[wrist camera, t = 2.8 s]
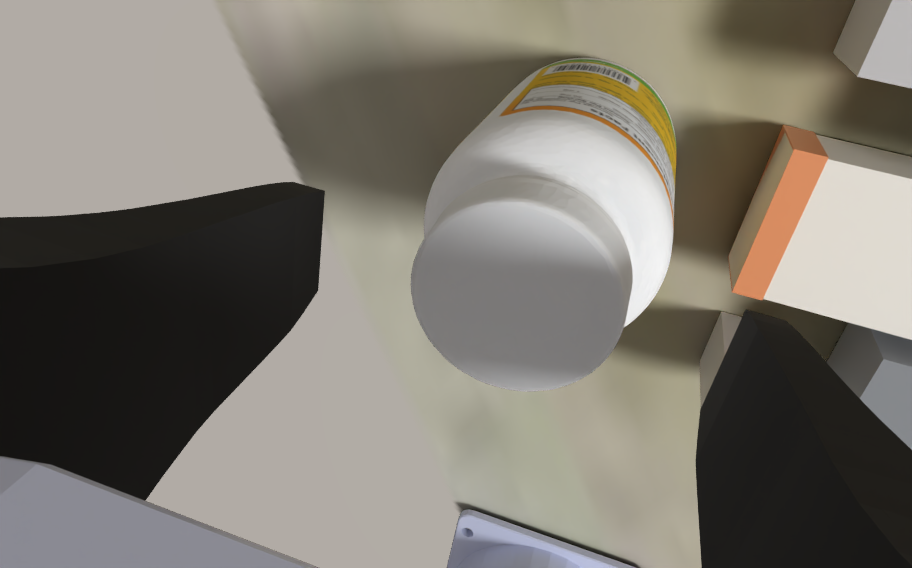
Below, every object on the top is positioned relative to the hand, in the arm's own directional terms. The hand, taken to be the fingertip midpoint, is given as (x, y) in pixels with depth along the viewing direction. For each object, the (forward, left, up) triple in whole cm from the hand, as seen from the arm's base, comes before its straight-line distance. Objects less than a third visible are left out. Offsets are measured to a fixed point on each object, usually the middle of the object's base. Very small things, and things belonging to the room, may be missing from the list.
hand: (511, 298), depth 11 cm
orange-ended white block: (0, -8, -10) cm, 13 cm away
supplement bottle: (0, 0, -11) cm, 11 cm away
